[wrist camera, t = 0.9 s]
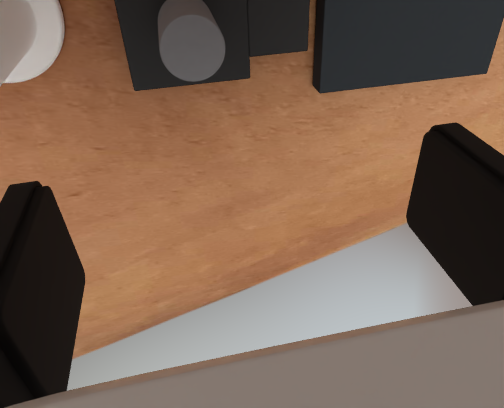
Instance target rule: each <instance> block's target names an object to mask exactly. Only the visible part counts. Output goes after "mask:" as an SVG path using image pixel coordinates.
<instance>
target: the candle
mask: <svg viewBox="0 0 504 408" xmlns="http://www.w3.org/2000/svg"><path fill="white" fill-rule="evenodd" d="M63 40H64V18H63V13H62V9H61V6H60V3H59V1H58V0H0V86H1V85H2V83H16V82H22V81H26V80H30V79H32V78H34V77H37V76H38V75H40V74H42V73H43V72H45V71H46V70H47V69H48V68H49V67H50V66H51V65H52V64H53V62H54V61H55V59H56V58H57V56H58V54H59V52H60V50H61V47H62V44H63Z"/></svg>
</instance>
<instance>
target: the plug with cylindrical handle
mask: <svg viewBox="0 0 504 408" xmlns="http://www.w3.org/2000/svg"><path fill="white" fill-rule="evenodd" d="M114 1H115V5H116V10H117V14H118V19H119V23H120V28H121V33H122V37H123V42H124V46H125V51H126V55H127V60H128V64H129V69H130V73H131V78H132V83H133V87H134V90H135V91H139V90H148V89H157V88H166V87H175V86H184V85H193V84H202V83H211V82H220V81H230V80H239V79H248V78H250V60H249V56H250V57H253V56H262V55H272V54H281V53H291V52H301V51H307V50H308V27H309V2H310V0H114Z"/></svg>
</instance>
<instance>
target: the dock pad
mask: <svg viewBox="0 0 504 408" xmlns="http://www.w3.org/2000/svg"><path fill="white" fill-rule="evenodd" d="M503 18H504V0H317V8H316V28H315V48H314V69H313V86H314V87H315V88H316V90H317V91H318V92H319V93H327V92H335V91H344V90H352V89H361V88H369V87H378V86H386V85H394V84H403V83H411V82H420V81H428V80H436V79H445V78H453V77H462V76H470V75H479V74H486V73H487V71H488V68H489V64H490V61H491V58H492V55H493V51H494V48H495V45H496V41H497V38H498V35H499V32H500V28H501V25H502V22H503Z"/></svg>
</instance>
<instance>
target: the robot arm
mask: <svg viewBox="0 0 504 408" xmlns="http://www.w3.org/2000/svg"><path fill="white" fill-rule="evenodd" d="M406 218H407V223H408V225H409V227H410V228H411V229H412V230H413V232H414V233H415V234H416V236H417V237H418V238H419V239H420V241H421V242H422V243H423V244H424V246H425V247H426V248H427V249H428V250H429V252H430V253H431V254H432V256H433V257H434V258H435V259H436V261H437V262H438V263H439V264H440V266H441V267H442V268H443V269H444V271H445V272H446V273H447V274H448V276H449V277H450V278H451V279H452V280H453V282H454V283H455V284H456V286H457V287H458V288H459V289H460V290H461V292H462V293H463V294H464V296H465V297H466V298H467V299H468V300H469V302H470V303H471V304H472V305H473V306H471V307H466V308H462V309H456V310H451V311H446V312H441V313H436V314H431V315H426V316H421V317H416V318H411V319H407V320H401V321H396V322H392V323H386V324H381V325H376V326H371V327H366V328H361V329H356V330H351V331H347V332H342V333H337V334H332V335H327V336H322V337H318V338H313V339H307V340H302V341H298V342H293V343H288V344H283V345H278V346H273V347H268V348H264V349H259V350H254V351H250V352H244V353H240V354H235V355H230V356H225V357H221V358H216V359H211V360H207V361H202V362H197V363H192V364H187V365H182V366H178V367H173V368H168V369H163V370H159V371H154V372H149V373H144V374H140V375H135V376H131V377H126V378H122V379H118V380H113V381H109V382H104V383H100V384H95V385H91V386H86V387H82V388H78V389H73V390H69V391H67V385H68V379H69V374H70V368H71V362H72V356H73V350H74V344H75V339H76V333H77V327H78V321H79V315H80V309H81V303H82V298H83V292H84V286H85V273H84V269H83V266H82V264H81V261H80V259H79V256H78V254H77V251H76V249H75V246H74V244H73V242H72V239H71V237H70V234H69V232H68V229H67V227H66V224H65V222H64V219H63V217H62V214H61V212H60V210H59V207H58V205H57V202H56V200H55V197H54V195H53V192H52V190H51V188H50V187H49V186H43V187H42V185H41V184H40V183H39V182H38V181H34V182H26V183H19V184H12V185H10V186H9V187H8V189H7V191H6V193H5V195H4V197H3V199H2V201H1V203H0V408H504V155H502V154H501V153H499V152H498V151H497V150H495V149H494V148H492V147H491V146H490V145H488V144H487V143H485V142H484V141H483V140H481V139H480V138H478V137H477V136H476V135H474V134H473V133H471V132H470V131H469V130H467V129H466V128H464V127H463V126H462V125H460V124H458V123H449V124H442V125H434V126H433V127H431V129H430V130H429V132H427V133H426V134H425V135H424V138H423V141H422V146H421V150H420V155H419V160H418V164H417V169H416V173H415V178H414V182H413V187H412V191H411V196H410V200H409V205H408V209H407V215H406Z"/></svg>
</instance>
